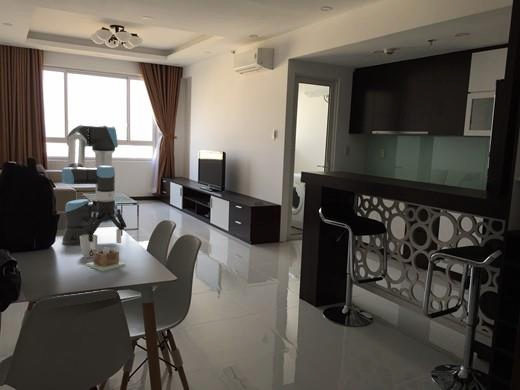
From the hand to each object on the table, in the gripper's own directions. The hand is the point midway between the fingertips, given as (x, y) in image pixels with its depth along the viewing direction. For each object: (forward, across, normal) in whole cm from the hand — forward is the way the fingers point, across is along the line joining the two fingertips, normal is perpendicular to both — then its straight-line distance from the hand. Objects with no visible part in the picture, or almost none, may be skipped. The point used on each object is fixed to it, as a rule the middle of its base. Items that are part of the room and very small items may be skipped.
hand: (106, 245), depth 196 cm
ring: (+8, 0, -1) cm, 8 cm away
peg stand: (+9, 0, -1) cm, 9 cm away
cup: (+10, +3, +18) cm, 21 cm away
